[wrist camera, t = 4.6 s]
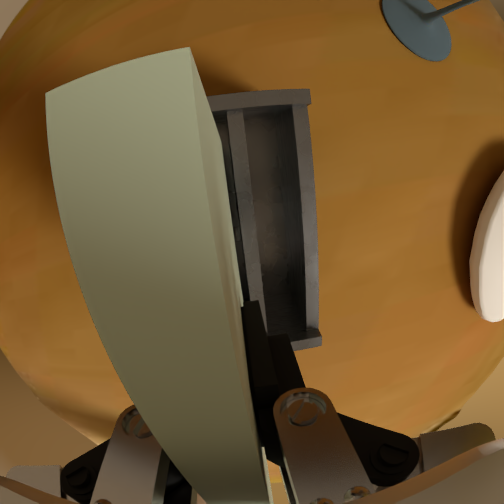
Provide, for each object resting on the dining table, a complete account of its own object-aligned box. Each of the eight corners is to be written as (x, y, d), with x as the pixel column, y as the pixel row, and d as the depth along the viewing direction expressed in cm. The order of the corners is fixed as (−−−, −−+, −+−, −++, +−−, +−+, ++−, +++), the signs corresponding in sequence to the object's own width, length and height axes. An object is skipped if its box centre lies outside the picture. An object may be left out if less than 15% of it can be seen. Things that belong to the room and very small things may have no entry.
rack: (297, 294, 30) (321, 345, 22) (169, 310, 30) (153, 366, 21) (282, 108, 23) (309, 88, 15) (132, 130, 23) (90, 124, 14)
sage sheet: (245, 317, 23) (279, 537, 7) (229, 319, 23) (244, 540, 6) (221, 142, 19) (189, 47, 2) (201, 145, 19) (45, 92, 2)
